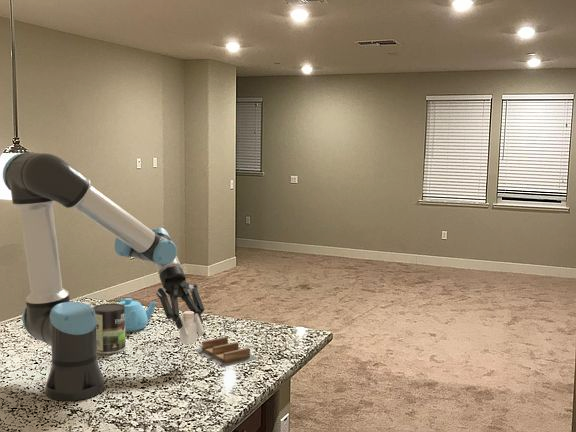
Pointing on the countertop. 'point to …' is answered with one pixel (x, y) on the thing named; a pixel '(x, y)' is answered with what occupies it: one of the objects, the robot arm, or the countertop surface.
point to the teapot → (136, 314)
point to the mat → (223, 362)
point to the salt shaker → (189, 328)
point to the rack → (225, 350)
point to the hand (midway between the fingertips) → (194, 335)
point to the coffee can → (110, 328)
